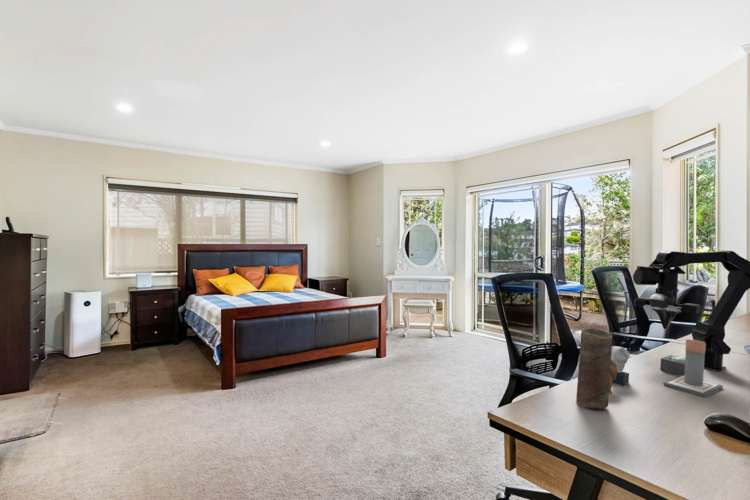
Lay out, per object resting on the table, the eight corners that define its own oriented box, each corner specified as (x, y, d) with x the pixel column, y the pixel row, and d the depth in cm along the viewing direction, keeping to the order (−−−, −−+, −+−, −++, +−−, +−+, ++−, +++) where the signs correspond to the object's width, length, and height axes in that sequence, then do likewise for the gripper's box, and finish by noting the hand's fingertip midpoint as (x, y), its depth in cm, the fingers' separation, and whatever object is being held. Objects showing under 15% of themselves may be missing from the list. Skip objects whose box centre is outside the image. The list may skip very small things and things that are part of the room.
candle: (605, 402, 102) (608, 329, 102) (612, 414, 95) (616, 336, 95) (573, 398, 105) (577, 326, 104) (578, 409, 98) (582, 332, 97)
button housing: (670, 366, 135) (670, 355, 134) (698, 373, 128) (698, 361, 128) (660, 369, 130) (660, 358, 130) (688, 377, 124) (689, 365, 123)
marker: (686, 379, 119) (688, 338, 118) (705, 384, 115) (707, 342, 115) (681, 382, 116) (683, 340, 115) (701, 387, 112) (703, 344, 112)
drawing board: (682, 377, 123) (682, 374, 123) (722, 388, 115) (722, 384, 115) (663, 385, 116) (663, 381, 116) (705, 397, 107) (705, 393, 107)
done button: (674, 364, 132) (674, 355, 132) (689, 368, 128) (690, 359, 128) (668, 366, 130) (669, 357, 130) (684, 370, 126) (684, 361, 126)
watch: (631, 381, 118) (632, 347, 118) (620, 387, 114) (622, 351, 113) (611, 376, 123) (612, 342, 123) (600, 381, 118) (602, 346, 118)
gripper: (628, 283, 139) (626, 325, 140) (690, 290, 123) (688, 337, 124) (642, 282, 145) (640, 322, 145) (703, 288, 129) (701, 333, 130)
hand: (665, 328), depth 136 cm, fingers closed
